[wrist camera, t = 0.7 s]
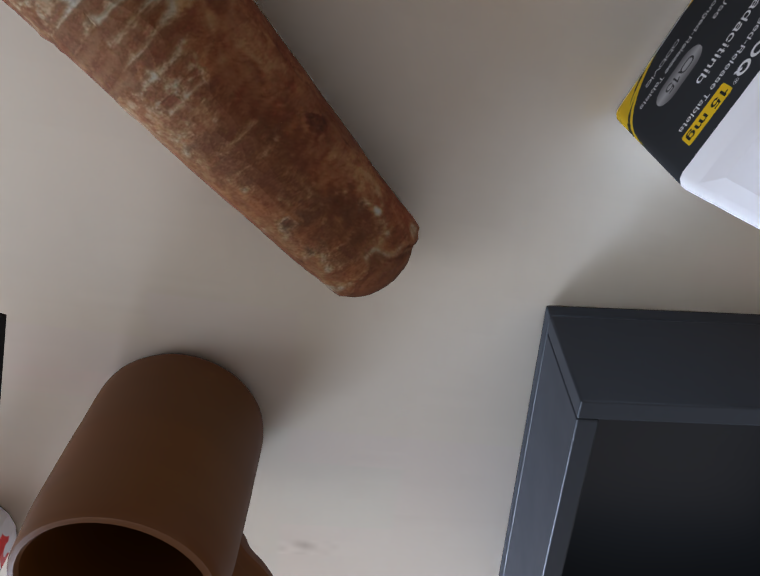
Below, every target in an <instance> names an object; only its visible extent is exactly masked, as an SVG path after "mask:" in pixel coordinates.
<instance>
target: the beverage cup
mask: <svg viewBox="0 0 760 576" xmlns="http://www.w3.org/2000/svg"><path fill="white" fill-rule="evenodd" d="M15 540H16V525H15V524H14V522H13V520H12V518H11V517H10V515H9V514H8V513H7V512H6V511H5V510H4V509H2V508H1V507H0V570H1V568H2V566H3V564H4V562H5V560H6V558H7V556H8V554H9V552H10V550H11V548H12V546H13V544H14V542H15Z"/></svg>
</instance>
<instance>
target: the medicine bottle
mask: <svg viewBox="0 0 760 576" xmlns="http://www.w3.org/2000/svg"><path fill="white" fill-rule="evenodd" d="M616 115H617V120H618V121H619V122H620V123H621V124H622V125H623V126H624V127H625V128H626V129H627V130H628V131H629V132H630V133H631V134H632V135H633V136H634V137H635V138H636V139H637V140H638V141H639V142H640V143H641V144H642V145H643V146H644V147H645V148H646V150H647V151H648V152H649V153H650V154H651V155H652V156H653V157H654V158H655V159H656V160H657V161H658V162H659V163H660V164H661V165H662V166H663V167H664V168H665V169H666V170H667V171H668V172H669V173H670V174H671V175H672V176H673V177H674V178H675V179H676V181H677V182H678V183H679V184H680V185H681V186H682V187H683V188H684V189H685V190H687V191H689V192H691V193H693V194H695V195H696V196H698V197H700V198H702V199H704V200H706V201H708V202H709V203H711V204H713V205H715V206H717V207H719V208H721V209H722V210H724V211H726V212H728V213H730V214H732V215H734V216H735V217H737V218H739V219H741V220H743V221H745V222H747V223H748V224H750V225H752V226H754V227H756V228H758V229H760V0H691V1H690V3H689V4H688V6H687V7H686V9H685V10H684V12H683V13H682V15H681V16H680V18H679V19H678V20H677V22H676V23H675V25H674V26H673V28H672V29H671V31H670V32H669V34H668V35H667V37H666V38H665V40H664V41H663V43H662V44H661V45H660V47H659V48H658V50H657V51H656V53H655V54H654V56H653V57H652V59H651V60H650V62H649V63H648V65H647V66H646V68H645V69H644V70H643V72H642V73H641V75H640V76H639V78H638V79H637V81H636V82H635V84H634V85H633V87H632V88H631V90H630V91H629V93H628V94H627V96H626V97H625V98H624V100H623V101H622V103H621V104H620V106H619V107H618V109H617V112H616Z"/></svg>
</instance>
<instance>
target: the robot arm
mask: <svg viewBox="0 0 760 576" xmlns="http://www.w3.org/2000/svg"><path fill="white" fill-rule="evenodd" d="M5 328H6V314H2V313H0V398H1V384H2V370H3V356H4V342H5Z"/></svg>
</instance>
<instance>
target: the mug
mask: <svg viewBox="0 0 760 576" xmlns="http://www.w3.org/2000/svg"><path fill="white" fill-rule="evenodd" d="M262 442H263V421H262V415H261V412H260V409H259V407H258V405H257V403H256V401H255V399H254V397H253V396H252V394H251V393H250V391H249V390H248V389H247V387H246V386H245V385H244V384H243V383H242V382H241V381H240V380H239V379H238V378H237V377H235V376H234V375H233V374H231V373H230V372H229V371H227V370H226V369H224V368H222V367H220V366H218V365H217V364H214V363H212V362H210V361H207V360H204V359H201V358H198V357H194V356H188V355H181V354H161V355H154V356H150V357H146V358H142V359H139V360H136V361H134V362H132V363H130V364H128V365H126V366H124V367H123V368H121V369H120V370H119V371H118V372H116V373H115V374H114V375H113V376H112V377H111V378H110V379H109V380H108V381H107V382H106V383H105V385H104V386H103V387H102V389H101V390H100V392H99V393H98V395H97V397H96V398H95V400H94V401H93V403H92V405H91V406H90V408H89V410H88V412H87V413H86V415H85V417H84V418H83V420H82V422H81V423H80V425H79V427H78V428H77V430H76V431H75V433H74V435H73V436H72V438H71V439H70V441H69V443H68V444H67V446H66V448H65V449H64V451H63V453H62V455H61V456H60V458H59V460H58V461H57V463H56V465H55V466H54V468H53V470H52V472H51V473H50V475H49V477H48V478H47V480H46V482H45V484H44V485H43V487H42V489H41V490H40V492H39V494H38V495H37V497H36V499H35V501H34V502H33V504H32V506H31V508H30V510H29V512H28V514H27V516H26V519H25V521H24V523H23V525H22V528H21V530H20V532H19V534H18V536H17V538H16V540H15V542H14V544H13V546H12V549H11V551H10V554H9V556H8V562H7V576H273V575H272V573H271V572H270V570H269V569H268V567H267V566H266V565H265V563H264V562H263V561H262V560H261V559H260V558H259V557H258V556H257V555H256V554H255V553H254V551H253V550H252V549H251V548H250V546H249V544H248V542H247V539H246V537H245V536H244V534H243V529H244V525H245V521H246V516H247V512H248V508H249V503H250V499H251V494H252V489H253V484H254V480H255V475H256V471H257V467H258V462H259V458H260V453H261V448H262Z"/></svg>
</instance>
